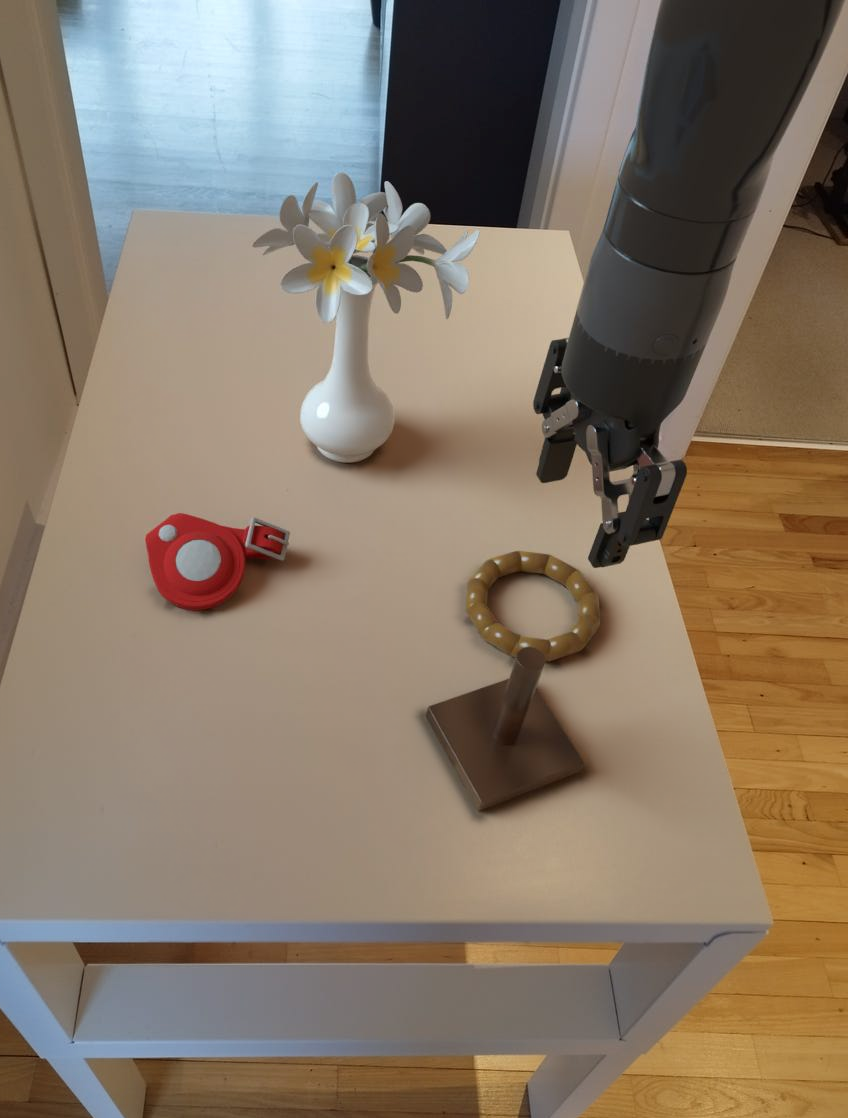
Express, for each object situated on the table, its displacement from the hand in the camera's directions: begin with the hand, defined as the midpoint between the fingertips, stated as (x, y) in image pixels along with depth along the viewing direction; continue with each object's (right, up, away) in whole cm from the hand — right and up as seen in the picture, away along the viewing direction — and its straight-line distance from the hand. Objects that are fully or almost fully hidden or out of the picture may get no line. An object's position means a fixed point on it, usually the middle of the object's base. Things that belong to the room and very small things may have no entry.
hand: (575, 518), depth 64 cm
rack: (-4, -17, +8) cm, 19 cm away
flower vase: (-16, +12, +28) cm, 35 cm away
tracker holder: (-28, -3, +17) cm, 33 cm away
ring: (0, -5, +15) cm, 16 cm away
